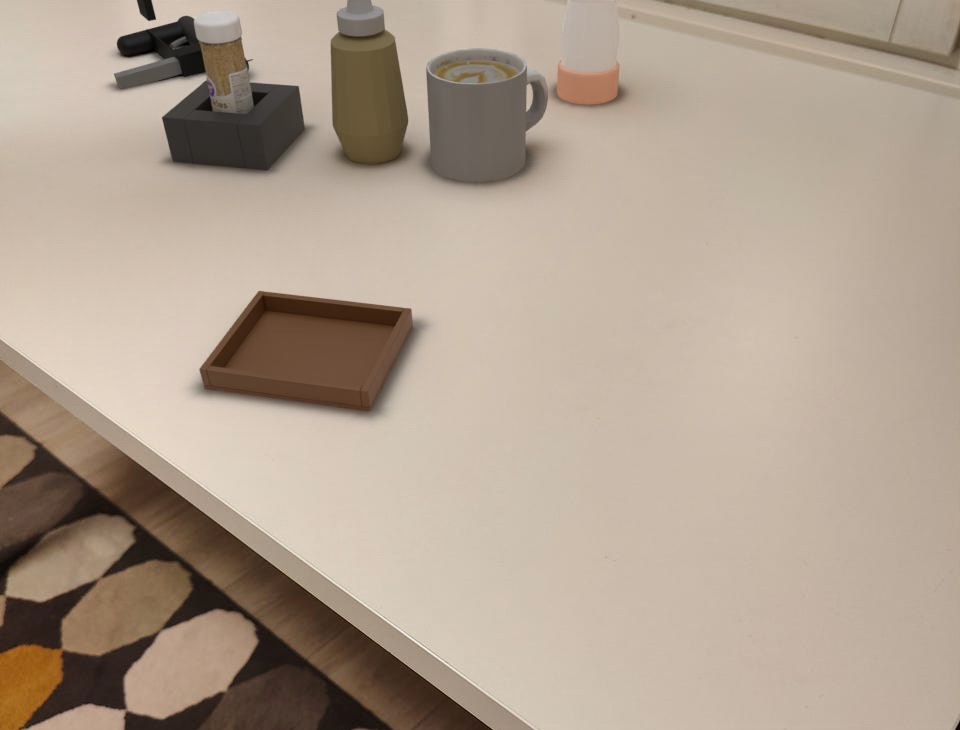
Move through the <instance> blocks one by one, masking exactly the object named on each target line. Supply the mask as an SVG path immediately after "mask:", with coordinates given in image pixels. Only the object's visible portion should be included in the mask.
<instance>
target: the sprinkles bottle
mask: <svg viewBox="0 0 960 730" xmlns="http://www.w3.org/2000/svg"><path fill="white" fill-rule="evenodd" d="M194 27H195V32H196V37H197V39H198V40H199V43H200V46H201V50H202V55H203V61H204V65H205V70H206V72H205V77H206V80H207V83H208V88H209V93H210V98H211V104H212V109H213V111H214V112H226V113H239V114H247V113H249V112H250V111H251V110H252V109H253V108H254V104H253V98H252V92H251V86H250V82H251V80H250V76H249V70H248V69H247V65H246V61H245V58H246V57H245V51H244V45H243V41H242V40H243V38H242V36H243V29H242V24H241V19H240V16H239V15H238V14H237V13H236V12H234V11H229V10H212V11H211V10H210V11H207V12H203V13H201V14H198V15H196V16H195V17H194Z"/></svg>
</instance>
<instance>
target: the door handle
mask: <svg viewBox="0 0 960 730" xmlns="http://www.w3.org/2000/svg"><path fill="white" fill-rule="evenodd" d="M194 19H195V17H192V16H190V15H182V16H180V17H179V18H178V19H177V21H173V22H169V23H166V24H162V25H158V26H155V27H151V28H146V29H143V30H140V31H136V32H132V33H129V34H125V35H121V36H119V37H118V39H116V48H117V50H118V52H119V53H120V54H122V55H123V56H126V57H132V56H136V55H137V56H138V55H140V54H145V53H148V52H153V51H155V52H156V53H157V54H158V55H160V56H161V57H162V58H163V59H161V60H158V61H154V62H151V63H147V64H142V65H140V66H139V65H138V66H136V67H132V68H128V69H125V70H122V71H118V72H115V73H113V76H114V79H115V82H116V85H117V86H118V87H119V88H120V89H121V90H125V89H129V88H133V87H139V86H143V85H146V84H151V83H155V82H158V81H162V80H165V79H169V78H172V77H175V76H180V75H182V76H183V77H184V78H187V77H191V76H192V77H193V76H196V75H200V74H206V70H205V65H204V61H203V55H202V50H201V46H200V43H199V40H198V39H197V37H196V32H195V27H194ZM185 43H188V45H184V46H182V47H179V46H180V45H182V44H185ZM177 47H178V48H177ZM253 60H254V59H253V58H251V59H247V58H246V57H245V61H246V65H247V69H248V71H249V70H250V63H249V62H252V61H253Z"/></svg>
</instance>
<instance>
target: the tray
mask: <svg viewBox="0 0 960 730" xmlns="http://www.w3.org/2000/svg"><path fill="white" fill-rule="evenodd" d="M413 328H414V324H413V312H412V308H411V307H402V306H392V305H386V304H385V305H384V304H377V303H368V302H367V303H366V302H358V301H357V302H356V301H351V300H350V301H349V300H342V299H333V298H324V297H316V296H306V295H297V294H291V293H290V294H289V293H281V292H273V291H264V290H258V291H257V292H256V294H255V295H254V296H253V297H252V299H250V302H249V303H248V305H247V306H246V307H245V308H244V310H243V311H242V312H241V313H240V314H239V316H238V317H237V319H236V320H235V321H234V323H233V324H232V326H231V327H230V328H229V329H228V331H226V333H225V334H224V336H223V337H222V338H221V340H220V341H219V342H218V343H217V345H216V347H214V349H213V350H212V352H210V354H209V356H208V357H207V358H206V359H205V361H204V362H203V363H202V365H201V366H200V368H199V372H200V378H201V381H202V384H203V388H204V389H205V390H213V391H220V392H227V393H234V394H241V395H242V394H243V395H250V396H256V397H263V398H271V399H279V400H285V401H293V402H300V403H307V404H315V405H321V406H322V405H323V406H328V407H335V408H343V409H351V410H358V411H365V412H371V411H372V409H373V407H374V405H375V403H376V401H377V399H378V397H379V396H380V393H381V391H382V389H383V387H384V385H385V384H386V381H387V380H388V377H389V375H390V373H391V371H392V369H393V368H394V366H395V364H396V362H397V360H398V359H399V356H400V354H401V352H402V350H403V348H404V347H405V344H406V342H407V340H408V338H409V337H410V334H411V332H412V330H413Z"/></svg>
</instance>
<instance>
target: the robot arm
mask: <svg viewBox="0 0 960 730" xmlns="http://www.w3.org/2000/svg"><path fill="white" fill-rule="evenodd" d="M136 3H137V7H138V11H139V15H141V16H142V17H143V18H144V19H145V20H147V21H148V22H152V21H156V20H157V17H156V12H155V9H154V5H153V4H154V3H153V0H136Z"/></svg>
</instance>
